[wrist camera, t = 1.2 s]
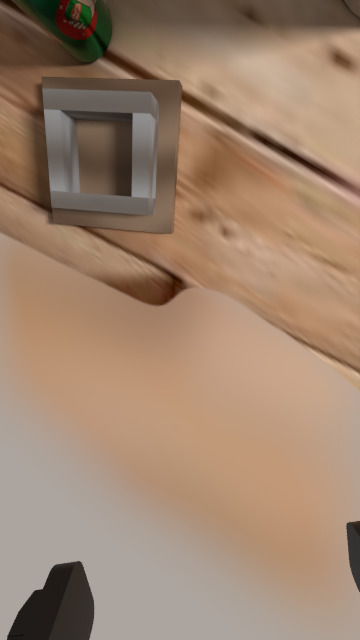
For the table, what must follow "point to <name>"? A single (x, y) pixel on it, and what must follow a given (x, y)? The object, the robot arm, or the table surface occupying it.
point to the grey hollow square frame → (113, 151)
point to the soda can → (73, 24)
